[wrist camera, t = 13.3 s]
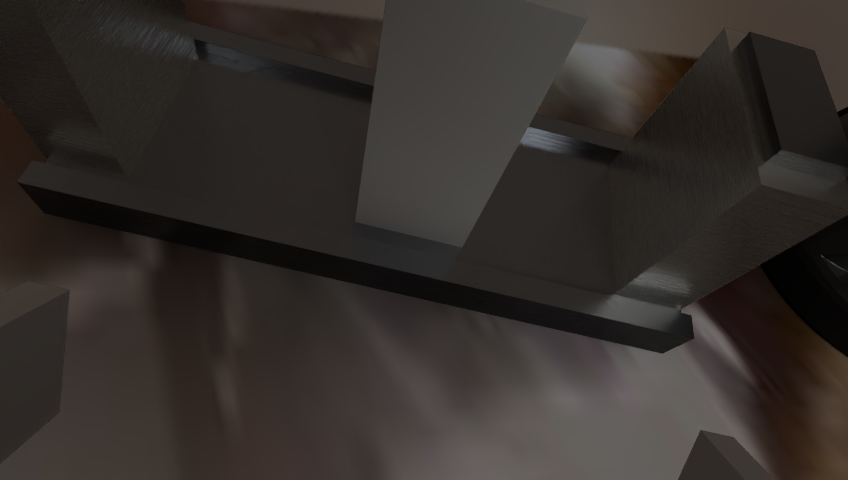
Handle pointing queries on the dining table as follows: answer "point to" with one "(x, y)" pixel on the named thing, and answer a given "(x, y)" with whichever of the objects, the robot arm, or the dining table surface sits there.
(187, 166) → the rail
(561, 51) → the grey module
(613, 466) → the dining table surface
